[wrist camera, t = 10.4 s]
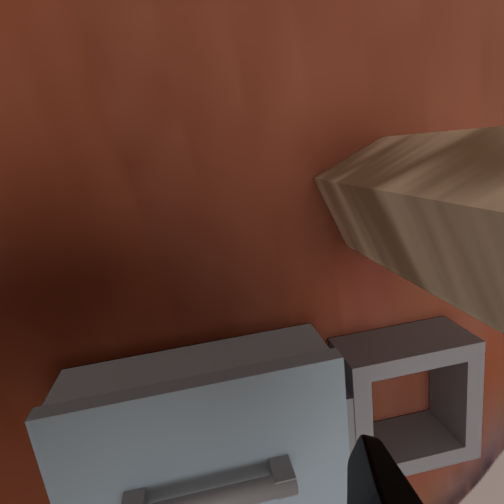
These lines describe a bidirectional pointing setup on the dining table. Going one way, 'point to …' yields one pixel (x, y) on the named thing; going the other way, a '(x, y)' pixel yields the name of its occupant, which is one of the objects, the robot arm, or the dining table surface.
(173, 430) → the toolbox
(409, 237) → the wooden block
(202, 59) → the dining table surface
